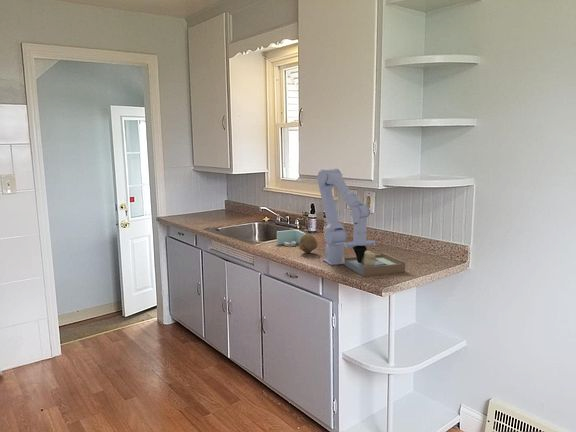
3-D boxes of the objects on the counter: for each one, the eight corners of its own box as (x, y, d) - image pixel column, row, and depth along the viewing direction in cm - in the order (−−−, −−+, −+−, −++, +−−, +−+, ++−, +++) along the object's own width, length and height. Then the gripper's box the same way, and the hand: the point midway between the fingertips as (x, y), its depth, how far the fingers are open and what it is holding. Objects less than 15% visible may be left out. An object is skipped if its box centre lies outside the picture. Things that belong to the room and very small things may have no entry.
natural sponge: (320, 252, 241) (320, 233, 239) (311, 256, 234) (311, 236, 232) (305, 250, 246) (305, 231, 244) (296, 253, 239) (296, 234, 237)
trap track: (344, 265, 216) (344, 255, 216) (382, 261, 223) (382, 252, 222) (363, 276, 199) (364, 265, 198) (404, 271, 205) (405, 261, 204)
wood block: (359, 262, 211) (359, 251, 210) (369, 261, 212) (369, 251, 211) (364, 265, 206) (365, 254, 205) (374, 264, 208) (375, 253, 207)
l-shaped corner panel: (276, 244, 261) (276, 231, 259) (296, 242, 266) (296, 229, 264) (285, 249, 250) (285, 235, 249) (305, 246, 255) (305, 233, 254)
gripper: (349, 235, 200) (348, 266, 202) (379, 232, 204) (378, 263, 206) (341, 232, 206) (341, 262, 208) (371, 230, 211) (370, 259, 213)
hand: (359, 262), depth 208 cm, fingers closed
